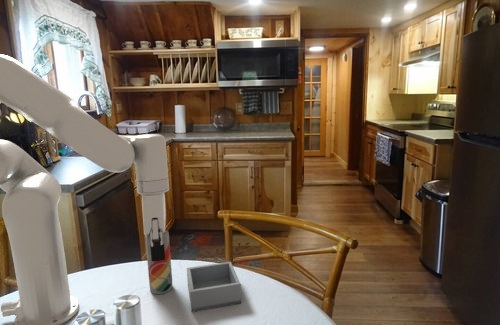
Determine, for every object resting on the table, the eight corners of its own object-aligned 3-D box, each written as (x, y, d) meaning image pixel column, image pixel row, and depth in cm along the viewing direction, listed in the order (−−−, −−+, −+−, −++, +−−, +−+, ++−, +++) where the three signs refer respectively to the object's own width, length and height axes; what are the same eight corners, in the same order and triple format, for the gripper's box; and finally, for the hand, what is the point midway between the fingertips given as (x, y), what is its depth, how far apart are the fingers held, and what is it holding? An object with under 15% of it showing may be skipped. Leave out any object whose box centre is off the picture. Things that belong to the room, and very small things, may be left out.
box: (191, 312, 76) (190, 291, 75) (187, 285, 87) (186, 267, 86) (241, 303, 79) (240, 283, 78) (231, 278, 90) (230, 261, 89)
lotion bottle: (166, 295, 83) (160, 218, 79) (145, 293, 84) (138, 217, 80) (176, 283, 88) (171, 211, 85) (156, 281, 89) (150, 210, 86)
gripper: (139, 179, 89) (145, 243, 92) (133, 195, 72) (140, 273, 75) (168, 176, 90) (172, 239, 94) (169, 192, 74) (174, 268, 77)
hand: (158, 254), depth 84 cm, fingers closed on lotion bottle, 5 cm apart
